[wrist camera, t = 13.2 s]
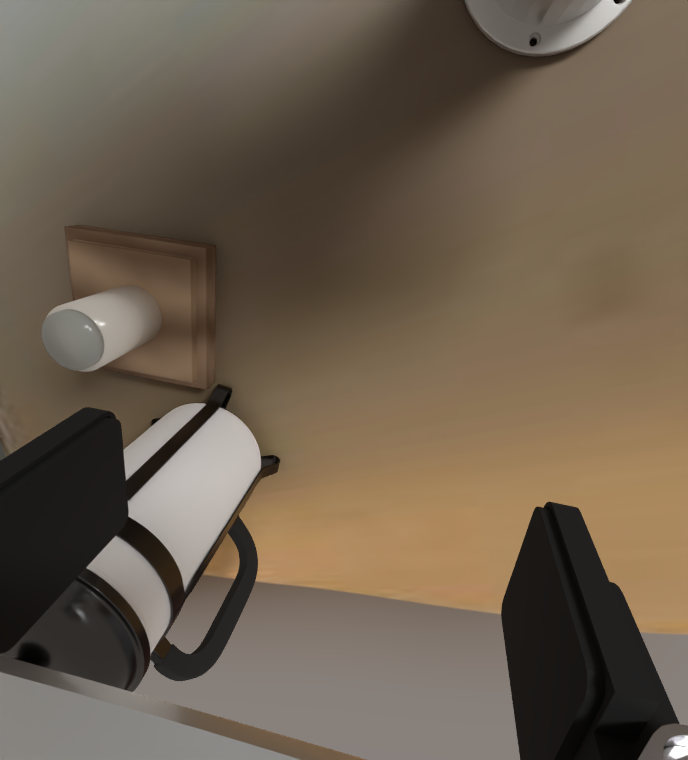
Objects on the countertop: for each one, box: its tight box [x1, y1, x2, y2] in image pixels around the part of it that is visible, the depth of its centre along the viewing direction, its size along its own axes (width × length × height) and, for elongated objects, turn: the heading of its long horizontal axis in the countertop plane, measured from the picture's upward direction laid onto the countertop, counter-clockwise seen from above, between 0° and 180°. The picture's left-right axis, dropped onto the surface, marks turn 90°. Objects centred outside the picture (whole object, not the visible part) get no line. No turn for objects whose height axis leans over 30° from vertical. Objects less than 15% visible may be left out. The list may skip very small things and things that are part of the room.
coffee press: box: [0, 384, 280, 692], centre depth 40 cm, size 17×16×30 cm
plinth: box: [65, 225, 216, 390], centre depth 47 cm, size 14×14×3 cm
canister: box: [41, 285, 162, 372], centre depth 41 cm, size 6×6×9 cm
